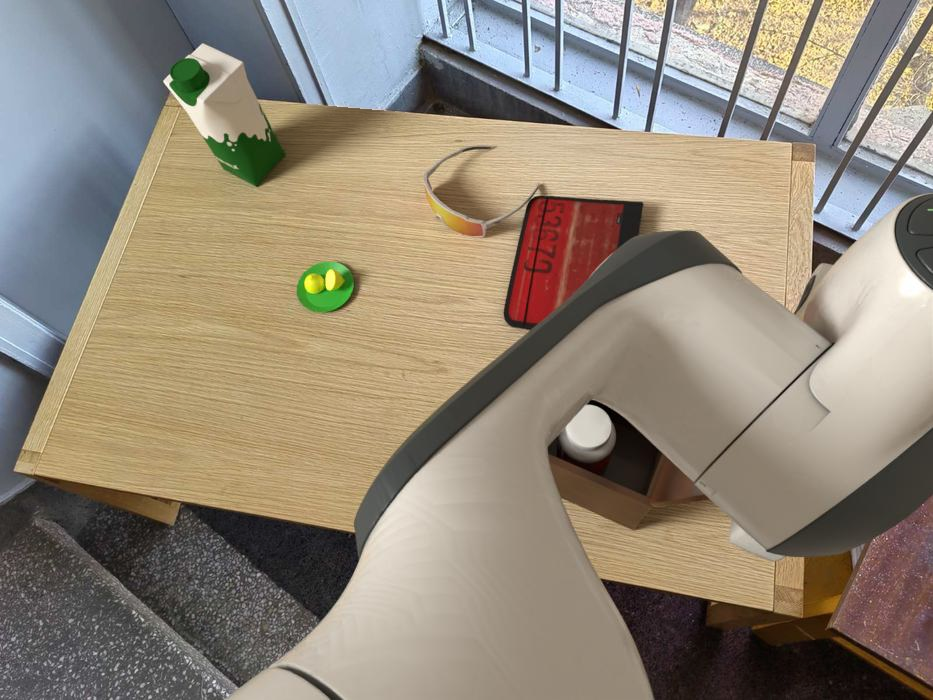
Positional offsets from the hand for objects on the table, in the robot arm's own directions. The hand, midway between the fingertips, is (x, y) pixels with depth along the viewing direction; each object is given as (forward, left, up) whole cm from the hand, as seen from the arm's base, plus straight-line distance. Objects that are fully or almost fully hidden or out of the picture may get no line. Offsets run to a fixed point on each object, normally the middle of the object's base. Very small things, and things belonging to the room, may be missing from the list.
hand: (769, 447), depth 55 cm
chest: (0, +13, -24) cm, 28 cm away
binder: (+24, +25, -24) cm, 42 cm away
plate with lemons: (+8, +55, -24) cm, 61 cm away
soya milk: (+23, +77, -24) cm, 84 cm away
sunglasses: (+30, +43, -24) cm, 57 cm away
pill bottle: (0, +15, -24) cm, 28 cm away
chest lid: (0, +4, -3) cm, 5 cm away
